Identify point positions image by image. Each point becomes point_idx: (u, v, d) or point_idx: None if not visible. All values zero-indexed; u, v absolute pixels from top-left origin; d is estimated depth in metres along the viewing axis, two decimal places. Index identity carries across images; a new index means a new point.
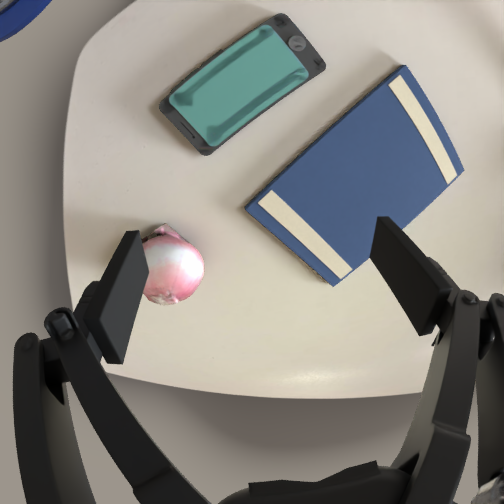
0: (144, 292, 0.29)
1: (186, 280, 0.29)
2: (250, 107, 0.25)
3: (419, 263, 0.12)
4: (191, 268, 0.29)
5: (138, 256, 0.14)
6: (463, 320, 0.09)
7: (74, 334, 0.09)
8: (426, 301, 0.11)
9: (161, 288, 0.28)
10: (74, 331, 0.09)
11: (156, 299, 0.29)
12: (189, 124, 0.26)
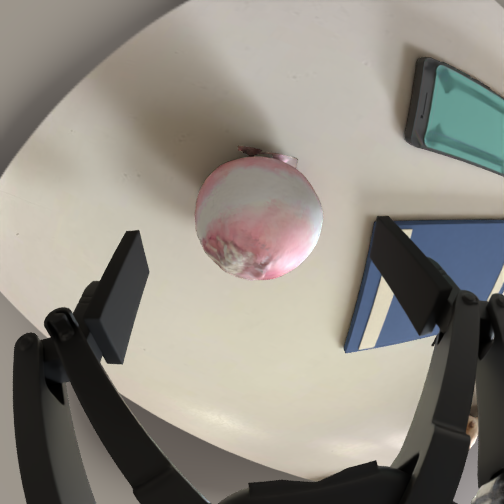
0: (219, 228, 0.15)
1: (298, 260, 0.17)
2: (469, 150, 0.18)
3: (419, 263, 0.12)
4: (312, 248, 0.17)
5: (138, 256, 0.14)
6: (463, 320, 0.09)
7: (74, 334, 0.09)
8: (426, 301, 0.11)
9: (265, 246, 0.15)
10: (74, 331, 0.09)
11: (233, 254, 0.15)
12: (430, 103, 0.16)
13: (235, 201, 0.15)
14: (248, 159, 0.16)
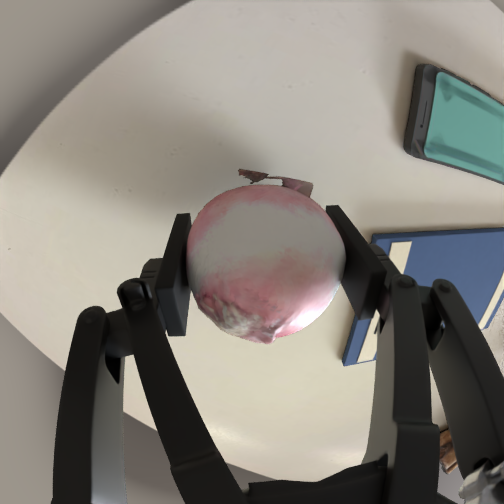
0: (216, 285, 0.12)
1: (315, 317, 0.13)
2: (469, 159, 0.18)
3: (356, 248, 0.13)
4: None
5: None
6: (403, 306, 0.10)
7: (146, 306, 0.10)
8: (362, 285, 0.12)
9: (276, 307, 0.12)
10: (146, 303, 0.10)
11: (235, 318, 0.12)
12: (430, 112, 0.16)
13: (237, 251, 0.11)
14: (253, 190, 0.12)
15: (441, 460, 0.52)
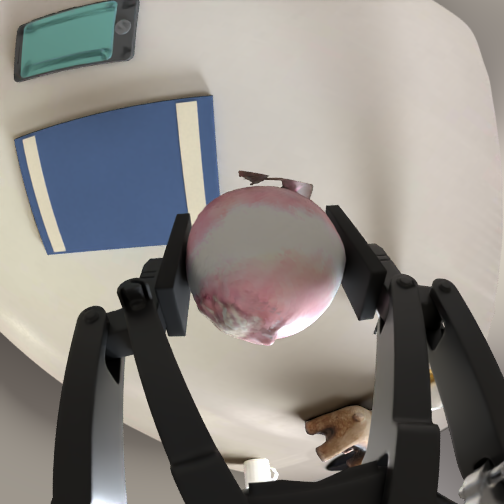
0: (215, 287, 0.12)
1: (314, 319, 0.13)
2: (57, 61, 0.20)
3: (356, 247, 0.13)
4: None
5: None
6: (403, 306, 0.10)
7: (146, 306, 0.10)
8: (362, 285, 0.12)
9: (275, 309, 0.12)
10: (146, 303, 0.10)
11: (235, 319, 0.12)
12: (21, 51, 0.18)
13: (237, 253, 0.11)
14: (253, 192, 0.12)
15: (317, 448, 0.55)
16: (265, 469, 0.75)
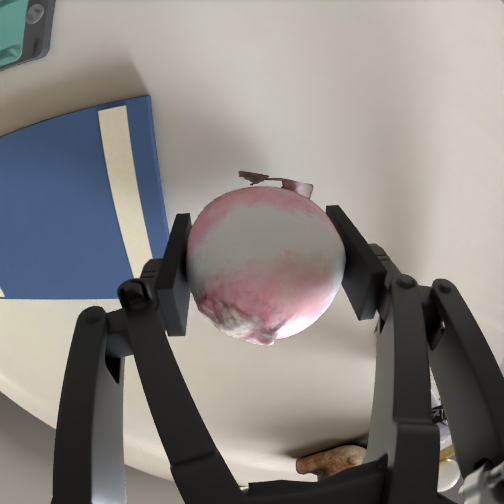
0: (216, 287, 0.12)
1: (314, 319, 0.13)
2: None
3: (356, 248, 0.13)
4: None
5: None
6: (403, 306, 0.10)
7: (146, 306, 0.10)
8: (362, 285, 0.12)
9: (276, 309, 0.12)
10: (146, 303, 0.10)
11: (235, 320, 0.12)
12: None
13: (237, 253, 0.11)
14: (253, 192, 0.12)
15: None
16: None
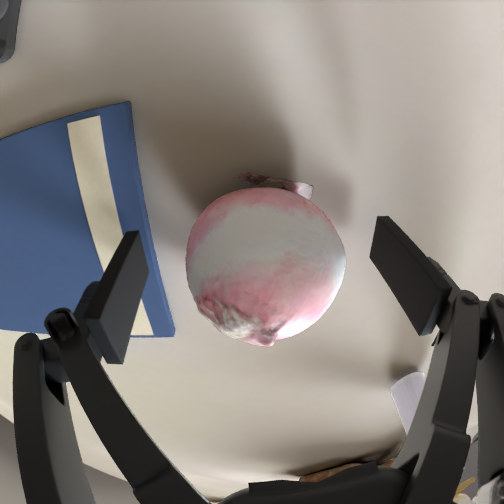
0: (216, 288, 0.12)
1: (314, 320, 0.13)
2: None
3: (419, 263, 0.12)
4: None
5: (138, 256, 0.14)
6: (463, 320, 0.09)
7: (74, 334, 0.09)
8: (426, 301, 0.11)
9: (275, 310, 0.12)
10: (74, 331, 0.09)
11: (235, 321, 0.12)
12: None
13: (237, 254, 0.11)
14: (253, 193, 0.12)
15: None
16: None
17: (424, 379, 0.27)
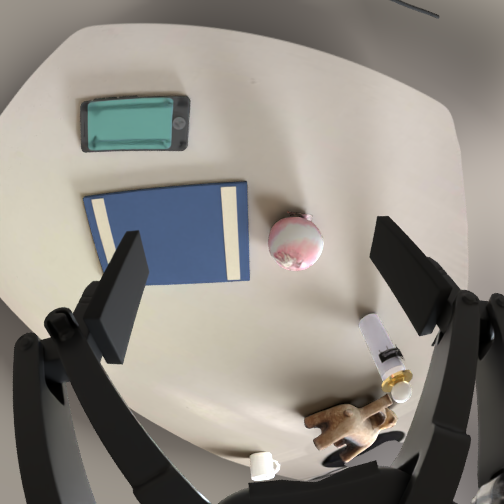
0: (283, 248, 0.38)
1: (313, 261, 0.40)
2: (123, 142, 0.34)
3: (419, 263, 0.12)
4: (318, 256, 0.41)
5: (138, 256, 0.14)
6: (463, 320, 0.09)
7: (74, 334, 0.09)
8: (426, 301, 0.11)
9: (301, 255, 0.38)
10: (74, 331, 0.09)
11: (288, 259, 0.39)
12: (87, 126, 0.32)
13: (290, 238, 0.38)
14: (293, 219, 0.39)
15: (314, 439, 0.68)
16: (268, 461, 0.87)
17: (378, 317, 0.53)
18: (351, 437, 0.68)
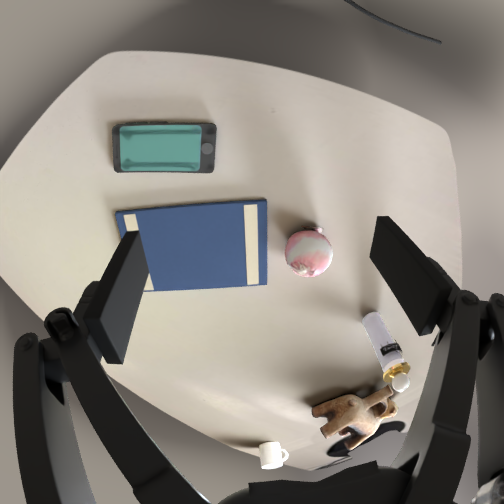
0: (298, 259, 0.44)
1: (324, 269, 0.46)
2: (154, 164, 0.40)
3: (419, 263, 0.12)
4: None
5: (138, 256, 0.14)
6: (463, 320, 0.09)
7: (74, 334, 0.09)
8: (426, 301, 0.11)
9: (314, 265, 0.44)
10: (74, 331, 0.09)
11: (303, 268, 0.44)
12: (119, 149, 0.38)
13: (305, 250, 0.44)
14: (307, 233, 0.45)
15: (321, 428, 0.75)
16: (277, 450, 0.94)
17: (379, 315, 0.59)
18: (355, 425, 0.75)
